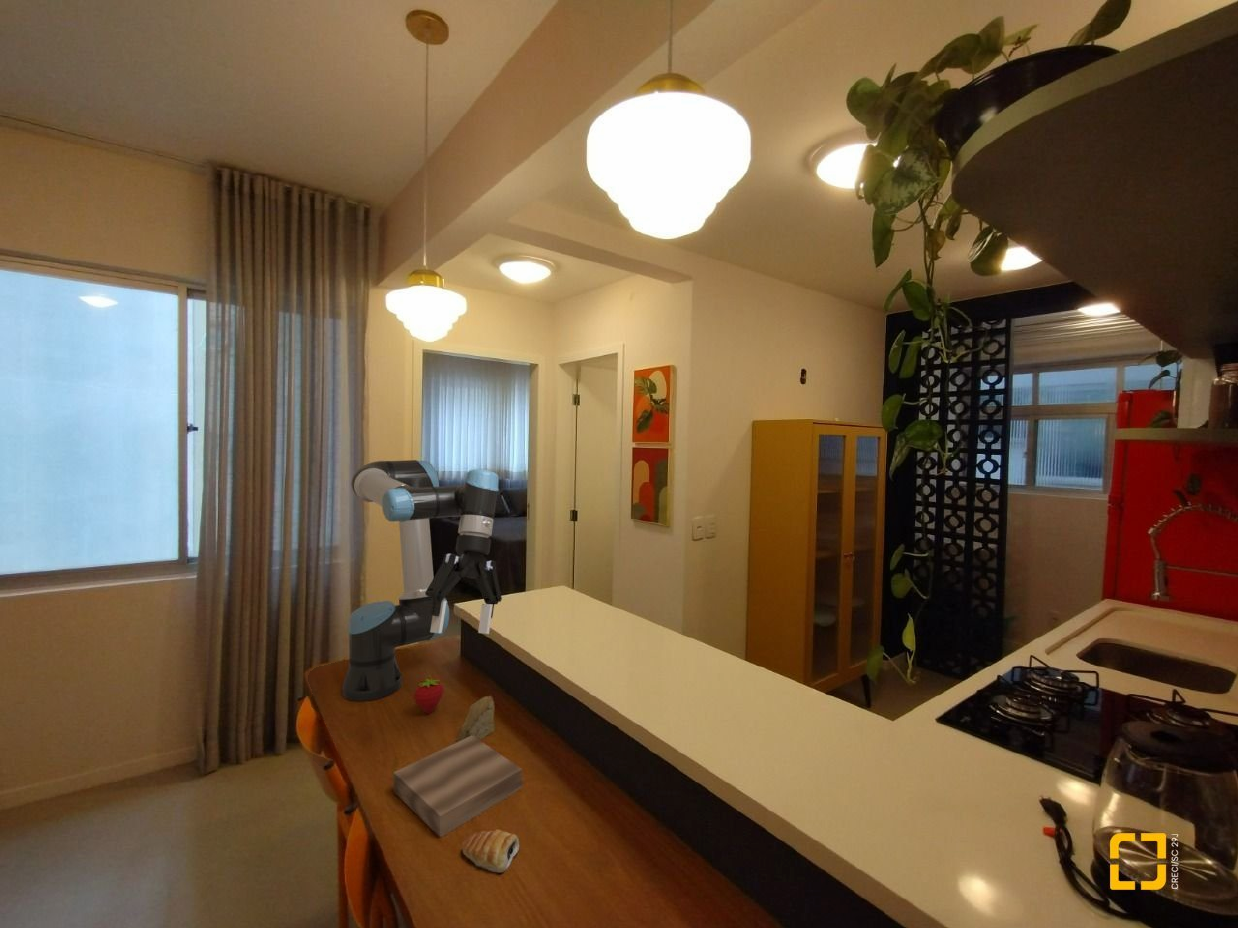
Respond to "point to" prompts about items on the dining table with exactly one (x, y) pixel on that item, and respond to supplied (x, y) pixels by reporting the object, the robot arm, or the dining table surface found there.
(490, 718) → the rock
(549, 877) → the dining table surface
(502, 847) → the pastry
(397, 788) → the walnut base
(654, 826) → the dining table surface
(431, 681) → the strawberry
